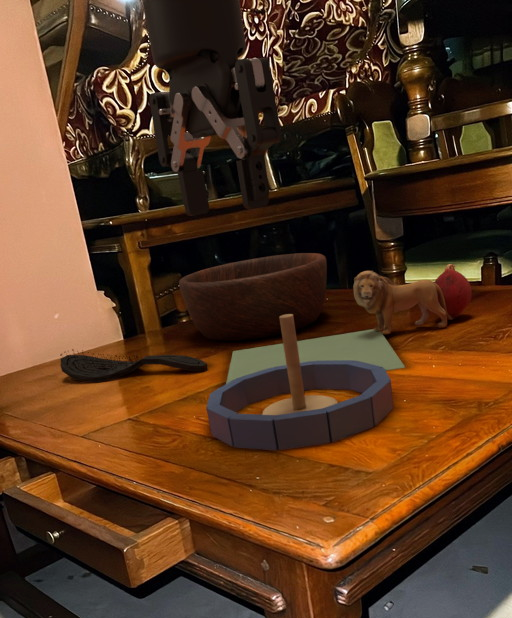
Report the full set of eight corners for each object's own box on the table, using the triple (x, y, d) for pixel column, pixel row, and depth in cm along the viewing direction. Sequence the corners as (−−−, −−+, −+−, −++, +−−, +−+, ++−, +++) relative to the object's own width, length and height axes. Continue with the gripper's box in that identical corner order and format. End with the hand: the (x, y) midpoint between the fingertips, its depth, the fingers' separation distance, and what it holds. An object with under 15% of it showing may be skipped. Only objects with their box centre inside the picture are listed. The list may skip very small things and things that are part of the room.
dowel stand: (335, 401, 77) (323, 302, 73) (342, 425, 69) (329, 317, 65) (264, 411, 77) (248, 314, 73) (263, 437, 70) (245, 330, 66)
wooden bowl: (162, 341, 122) (149, 283, 118) (267, 307, 136) (259, 254, 132) (252, 352, 104) (241, 283, 100) (363, 312, 118) (357, 250, 114)
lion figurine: (362, 340, 97) (358, 275, 93) (350, 333, 101) (346, 270, 98) (460, 325, 99) (461, 261, 95) (444, 319, 103) (444, 257, 100)
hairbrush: (189, 359, 94) (45, 358, 104) (193, 385, 95) (51, 381, 106) (217, 343, 101) (79, 343, 111) (220, 367, 102) (84, 366, 113)
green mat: (379, 332, 103) (378, 328, 103) (405, 371, 82) (405, 367, 82) (233, 354, 105) (232, 351, 104) (224, 399, 84) (223, 394, 84)
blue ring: (377, 380, 81) (374, 351, 80) (406, 437, 64) (403, 401, 63) (220, 403, 83) (214, 375, 81) (206, 465, 65) (199, 431, 64)
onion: (467, 323, 99) (464, 266, 96) (427, 325, 102) (423, 270, 99) (476, 313, 104) (474, 259, 101) (438, 315, 107) (435, 262, 104)
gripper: (285, -36, 50) (313, 198, 56) (179, 18, 61) (213, 210, 67) (202, -40, 46) (242, 213, 52) (104, 19, 57) (147, 223, 63)
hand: (225, 211), depth 60 cm, fingers open, 8 cm apart
